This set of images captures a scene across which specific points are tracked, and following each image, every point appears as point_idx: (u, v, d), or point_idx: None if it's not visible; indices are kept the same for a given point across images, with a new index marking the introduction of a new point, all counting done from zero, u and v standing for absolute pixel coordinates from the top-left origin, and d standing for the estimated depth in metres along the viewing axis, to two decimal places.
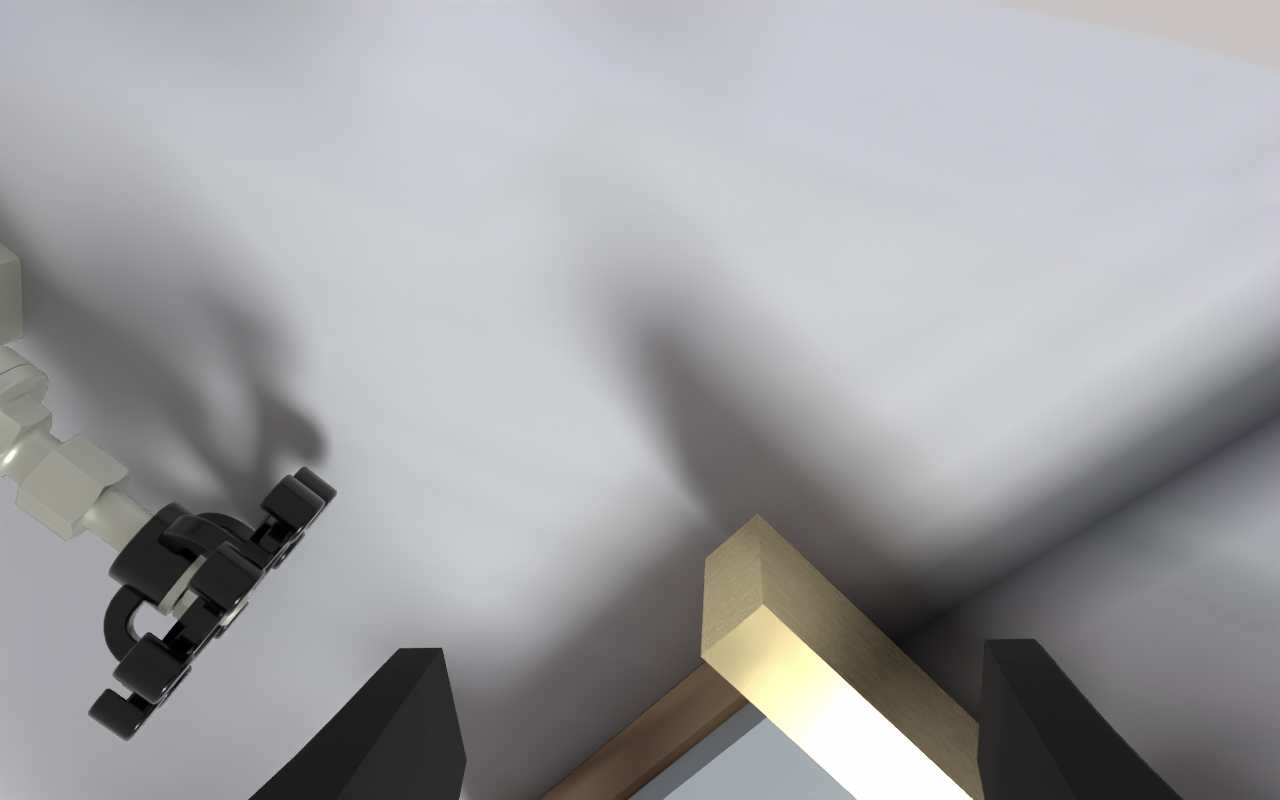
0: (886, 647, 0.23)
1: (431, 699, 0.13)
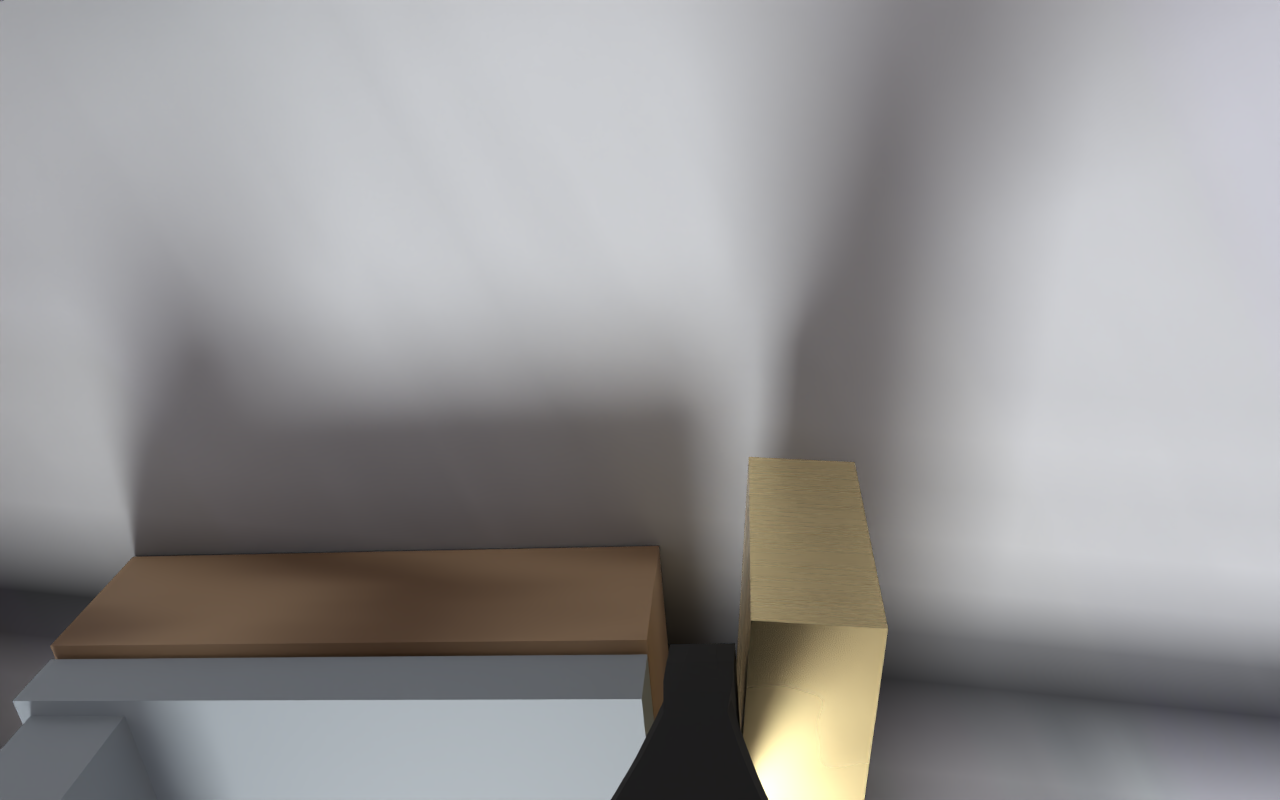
0: None
1: (735, 696, 0.13)
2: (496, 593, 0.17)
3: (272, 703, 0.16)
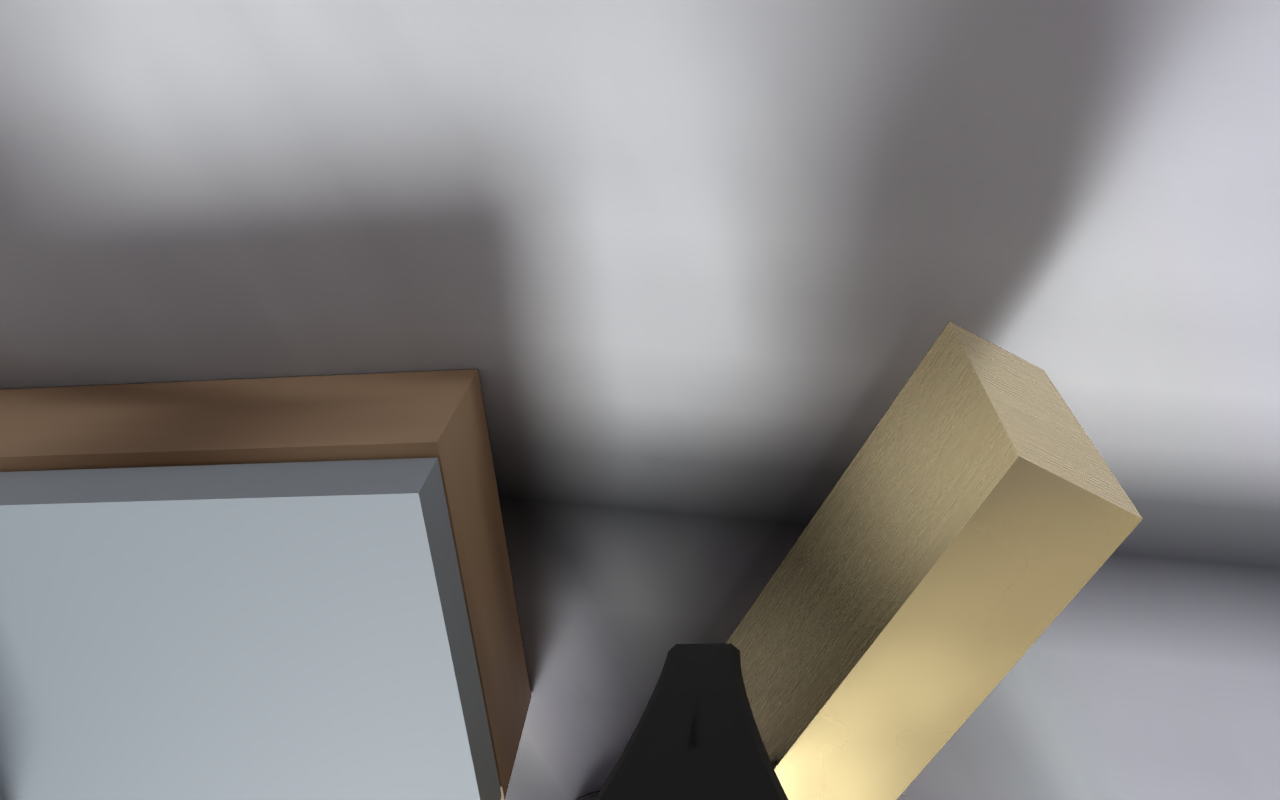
0: None
1: None
2: (294, 410, 0.16)
3: (28, 508, 0.15)
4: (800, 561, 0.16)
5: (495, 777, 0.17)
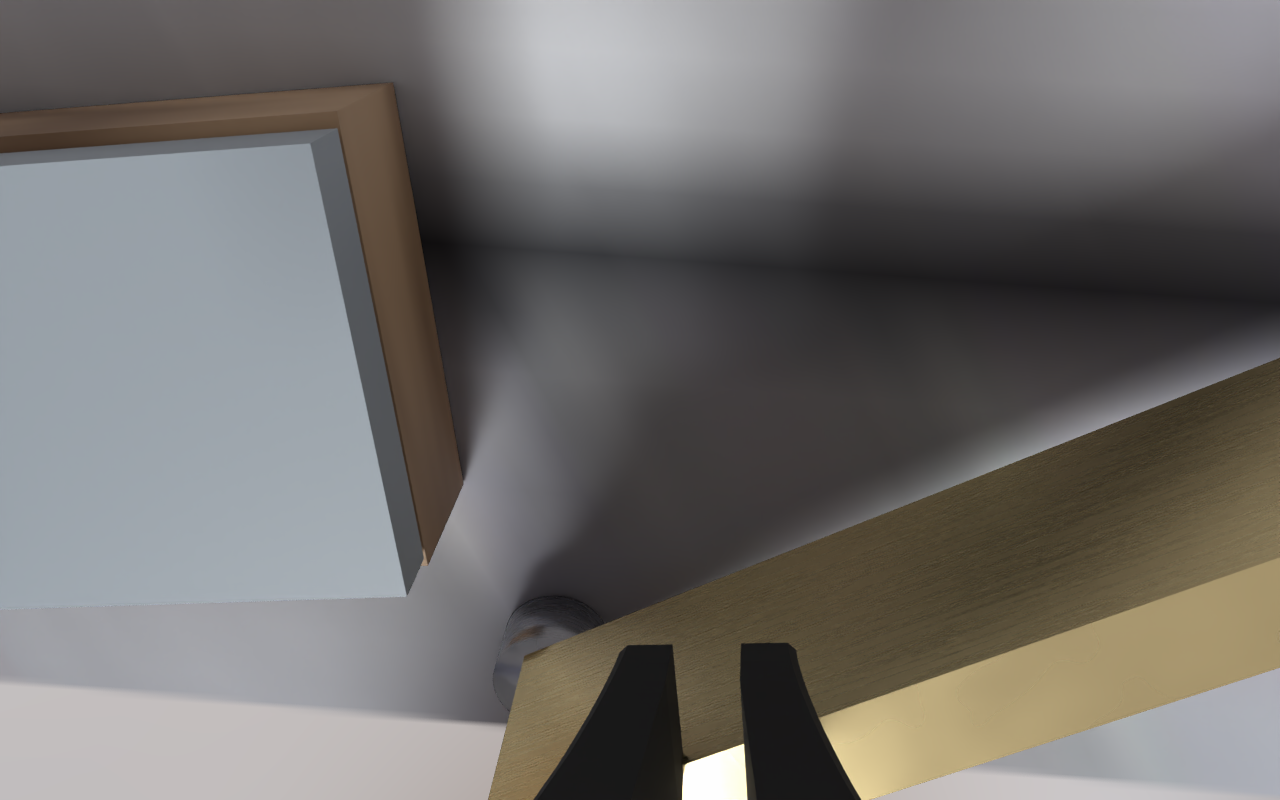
0: None
1: (670, 696, 0.13)
2: (185, 110, 0.15)
3: None
4: (1012, 486, 0.16)
5: (416, 536, 0.16)
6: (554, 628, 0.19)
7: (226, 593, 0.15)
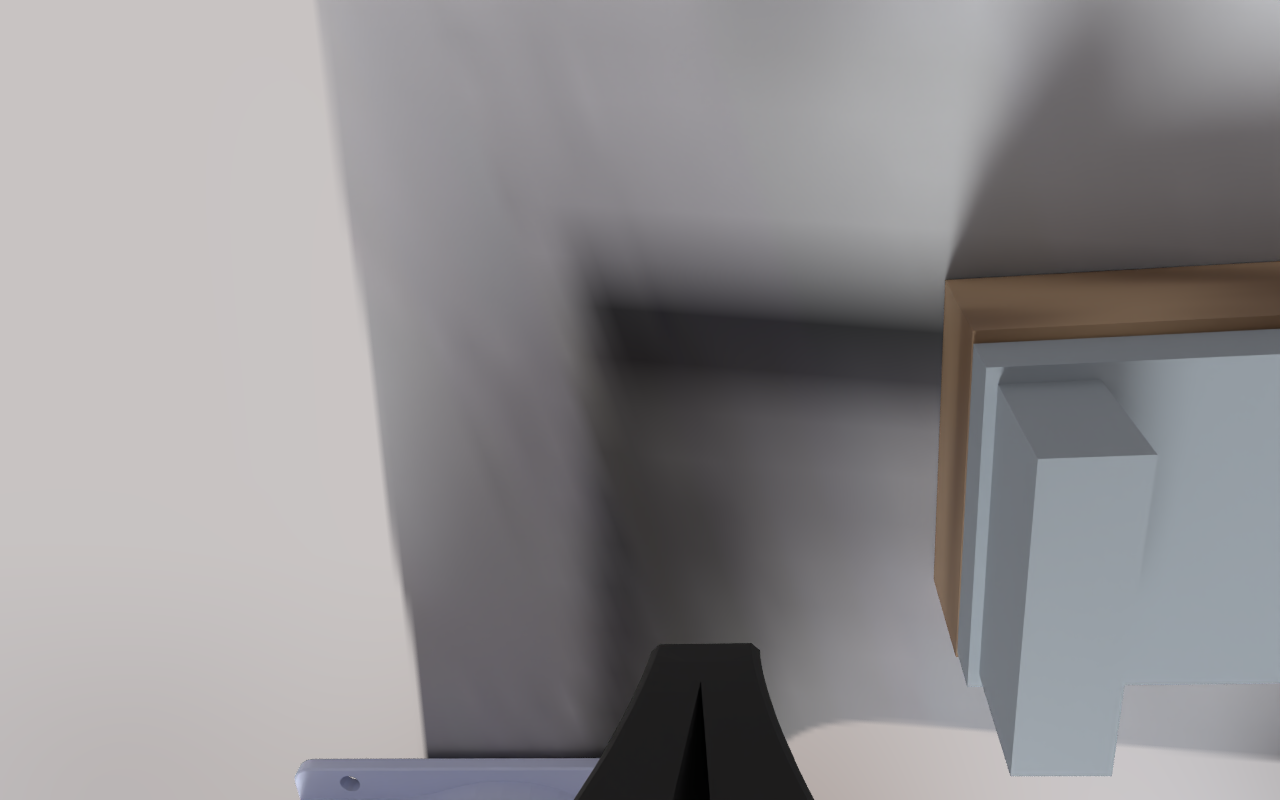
0: None
1: None
2: None
3: (1269, 357, 0.16)
4: None
5: None
6: None
7: None
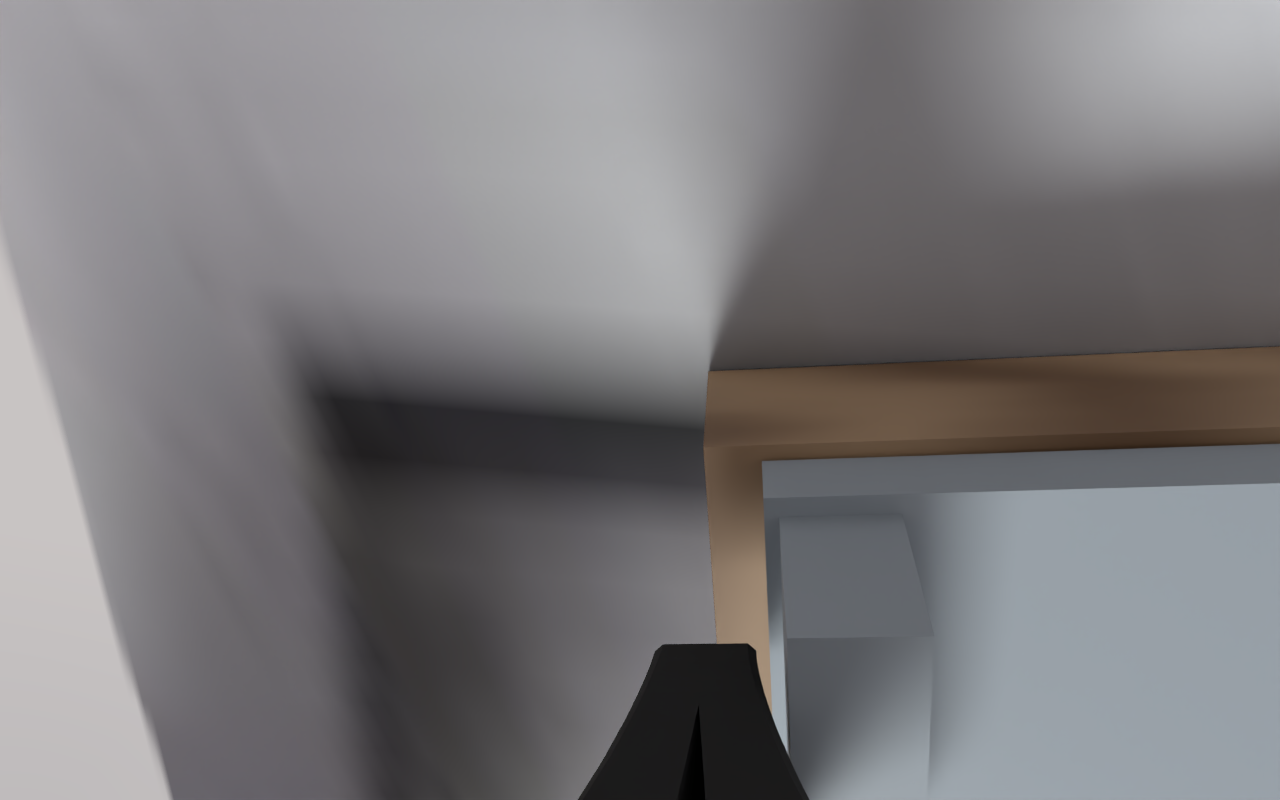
0: None
1: None
2: (1214, 387, 0.15)
3: (1103, 491, 0.13)
4: None
5: None
6: None
7: None
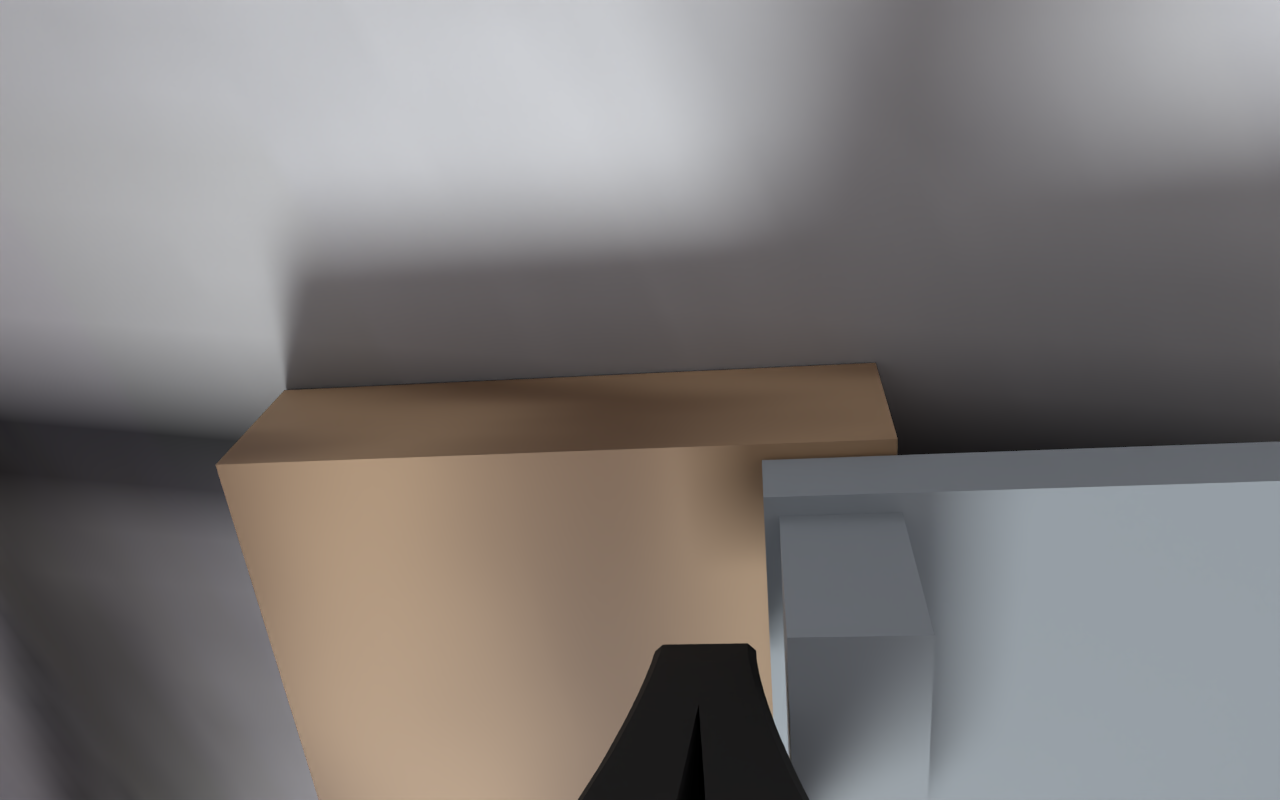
0: None
1: None
2: (707, 406, 0.16)
3: (1104, 489, 0.13)
4: None
5: None
6: None
7: None
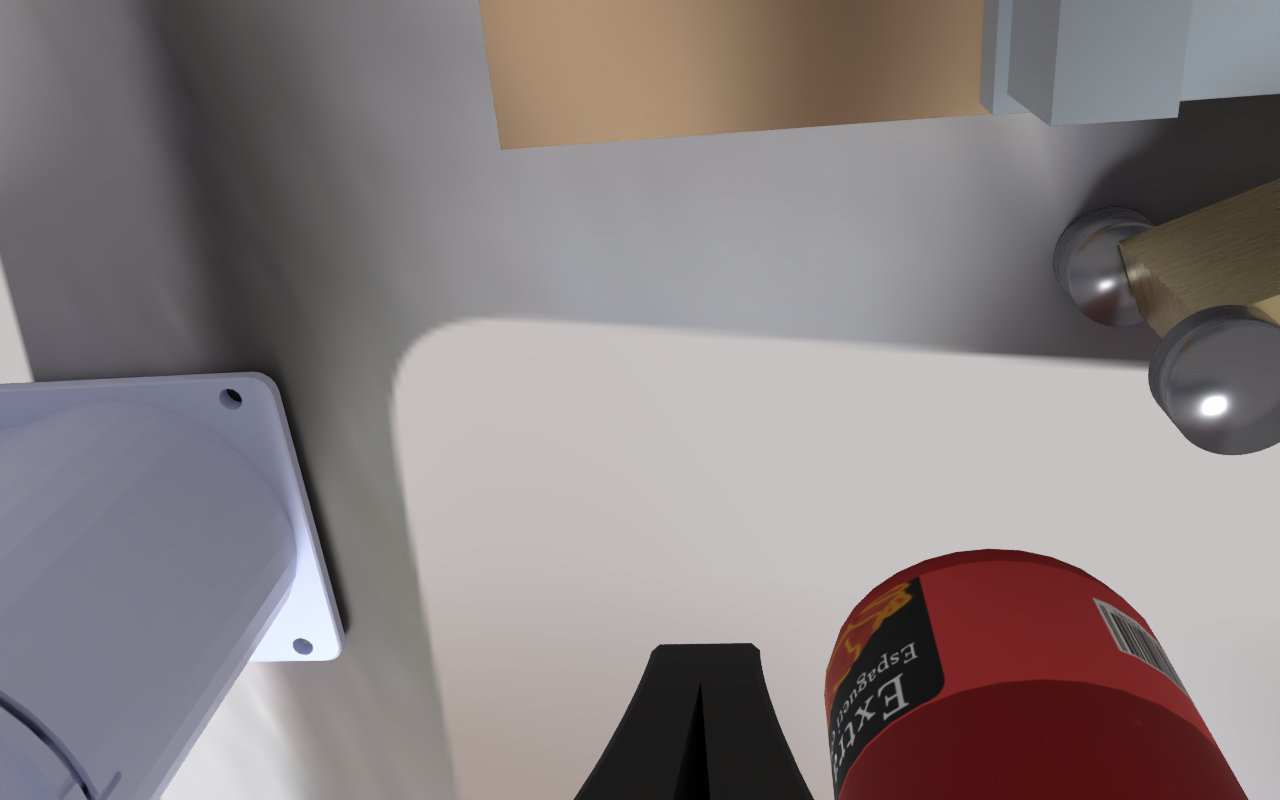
0: None
1: None
2: None
3: None
4: None
5: None
6: (1138, 221, 0.19)
7: None
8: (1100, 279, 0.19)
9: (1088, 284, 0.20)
